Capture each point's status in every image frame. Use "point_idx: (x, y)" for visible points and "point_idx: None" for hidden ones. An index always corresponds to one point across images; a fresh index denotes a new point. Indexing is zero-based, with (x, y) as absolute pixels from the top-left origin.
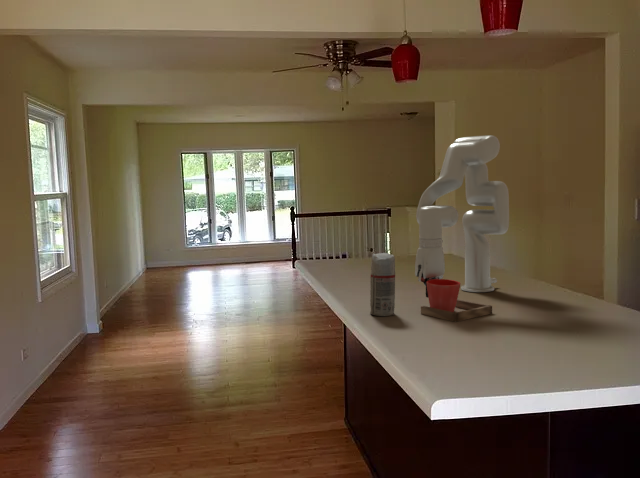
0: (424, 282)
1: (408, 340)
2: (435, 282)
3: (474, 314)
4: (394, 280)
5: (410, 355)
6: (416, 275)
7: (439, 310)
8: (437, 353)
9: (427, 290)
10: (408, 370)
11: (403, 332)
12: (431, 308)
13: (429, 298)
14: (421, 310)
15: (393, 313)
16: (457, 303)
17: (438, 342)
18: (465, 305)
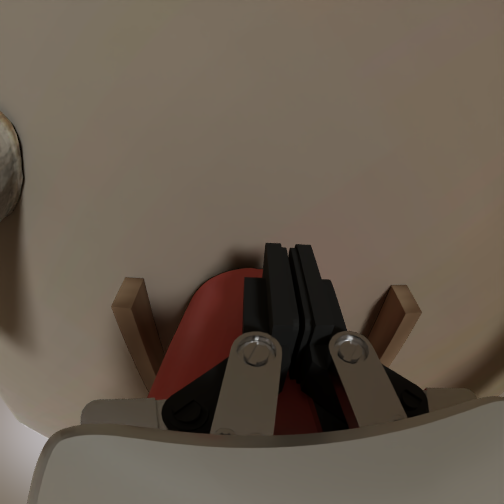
0: (199, 394)
1: (12, 374)
2: (302, 424)
3: None
4: None
5: (10, 393)
6: (59, 447)
7: (144, 383)
8: (40, 411)
9: (157, 385)
10: (5, 401)
11: (9, 351)
12: (133, 357)
13: (166, 352)
14: (120, 293)
15: (9, 211)
16: (391, 315)
17: (54, 405)
18: (373, 347)
